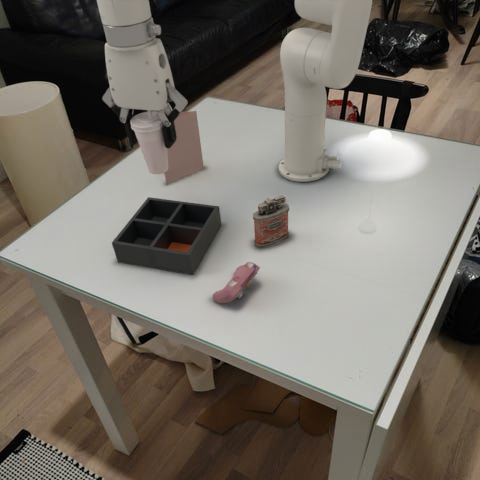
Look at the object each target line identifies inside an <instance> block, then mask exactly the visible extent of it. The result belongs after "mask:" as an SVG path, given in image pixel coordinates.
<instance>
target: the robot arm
mask: <svg viewBox="0 0 480 480" xmlns="http://www.w3.org/2000/svg"><path fill="white" fill-rule="evenodd" d="M96 4H97V8H98V12H99V16H100V20H101V24H102V27H103V33H104V36H105V41H106V42H105V44H104V57H105V58H104V59H105V67H106V73H107V74H106V75H107V79H108V80H107V81H108V84H109V87H108V88H107V89H106V91H105V93H103V95H102V97H101V100H102V101H103V102H104V103H105V104H106V105H107V106H108V107H109V108H111V111H112V112H113V113H114V114H116V116H117V117H118V118H119V122H121V123H122V124H124V128H125V129H124V130H125V133H126V136H127V138H128V141H129V145H131V146H135V144H137V143H138V140H137V137H136V134H135V132H134V130H132V128H131V123H130V121H131V119H132V118H133V117H134V116H135V115H134V111H135V110H139V111H141V110H142V111H148V110H151V111H156V112H157V113H158V115H159V117H160V118H161V120H162V122H163V124H164V125H163V126H162V133H163V138H164V143H165V147H166V148H170V147H171V146H172V145H173V144H174V143H175V141H176V139H177V136H176V130H175V124H174V121H175V119H176V118H177V117H178V116H179V114H180V113H181V112H183V110H184V109H185V108H186V107H187V105H188V103H189V102H188V99H186V98H185V96H184V95H182V94H181V92H180V91H178V89H176V86H175V82H174V78H173V73H172V70H171V66H170V63H169V59H168V55H167V52H166V49H165V47H164V44H163V42H162V40H161V38H157V36H161V34H162V26H161V25H160V24H156V23H155V22H154V18H153V17H152V11H151V5H150V0H96ZM372 6H373V0H294V10H295V12H296V14H297V15H298V16H299V17H300V18H302V19H304V20H306V21H310V22H314V23H318V24H322V25H327V26H331V32H328V31H326V30H325V31H324V30H320V29H317V28H316V29H315V28H310V27H298V28H294V29H292V30H290V31H289V32H288V33H287V34H286V36H285V37H284V38H283V40H282V42H281V45H280V50H279V62H280V69H281V73H282V80H283V88H284V89H283V90H284V158H283V159H282V160H281V161H280V162H279V164H278V171H279V174H280V175H281V176H282V177H283V178H284V179H287V180H289V181H292V182H297V183H298V182H299V183H307V182H308V183H309V182H314V181H317V180H320V179H322V178H323V177H325V176H326V175H327V174H328V172H329V171H330V169H332V170H333V169H334V170H340V169H341V164H342V161H341V160H338V158H339V157H338V156H334V155H333V156H331V155H329V154H327V148H325V137H326V136H325V135H326V134H325V133H326V120H327V118H326V117H327V105H328V104H327V103H328V96H327V90H326V88H329V89H333V90H340V89H344V88H347V87H348V86H349V85H350V84H351V83H352V82H353V80H354V79H355V77H356V74H357V72H358V70H359V66H360V62H361V58H362V54H363V49H364V45H365V41H366V35H367V30H368V27H369V22H370V16H371V12H372ZM170 102H173V103H174V104H175V106H174V108H172V105H171V104H170Z"/></svg>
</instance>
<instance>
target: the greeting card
mask: <svg viewBox="0 0 480 480" xmlns="http://www.w3.org/2000/svg"><path fill="white" fill-rule="evenodd" d="M174 124H175V130H176V136H177V139H176V141H175V143H174V144H173V145H172V146H171V147H170V148H167V154H168V170H167V171H166V172H165V173H163V174H164V178H165V184H166V185H168V184H170V183H173V182H175V181H178V180H180V179H182V178H185V177H187V176H189V175H192V174H194V173H196V172H199V171H202V170H203V169H205V166H204V158H203V151H202V150H203V149H202V143H201V137H200V136H201V135H200V129H199V121H198V113H197V110H192V111H182V112H181V113H180V114H179V116H178V117H177V118H176V119H175V121H174Z"/></svg>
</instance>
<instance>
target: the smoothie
mask: <svg viewBox="0 0 480 480" xmlns="http://www.w3.org/2000/svg"><path fill="white" fill-rule="evenodd" d="M133 116H134V117H133V118H132V119H131V121H130V123H131V128H132V130H134V132H135V134H136V137H137V140H138V141H137V143H138V145H139V148H140V150H141V153H142V155H143V158H144V161H145V163H146V167H147V169H148V172H149V173H150V174H152V175H162V174H164V173H165V172H166V171H167V170H168V154H167V148H166V147H165V143H164V138H163V133H162V126H163V125H164V124H163V122H162V120H161V118H160V117H159V115H158V113H157V112H156V111H152V110H147V111H143V112H140V113H138V114H135V115H133Z"/></svg>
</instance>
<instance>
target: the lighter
mask: <svg viewBox="0 0 480 480" xmlns="http://www.w3.org/2000/svg"><path fill="white" fill-rule="evenodd" d="M286 201H287V197H286V195H284V194H282V195H279V196H276V197H273V198H272V199H271V198H269V197H268V198H265V199H264V201H262V202H260V203H258V204H257V210H256V211H254V212H253V214H252V219H253V225H254V226H253V227H254V228H253V229H254V241H253V242H254V247H255V248H256V249H265V248H269V247H272V246H275V245H278V244H280V243H282V242H284V241H286V240H287V239H289V237H290V232H289V211H290V205H289V204H288V203H286Z"/></svg>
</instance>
